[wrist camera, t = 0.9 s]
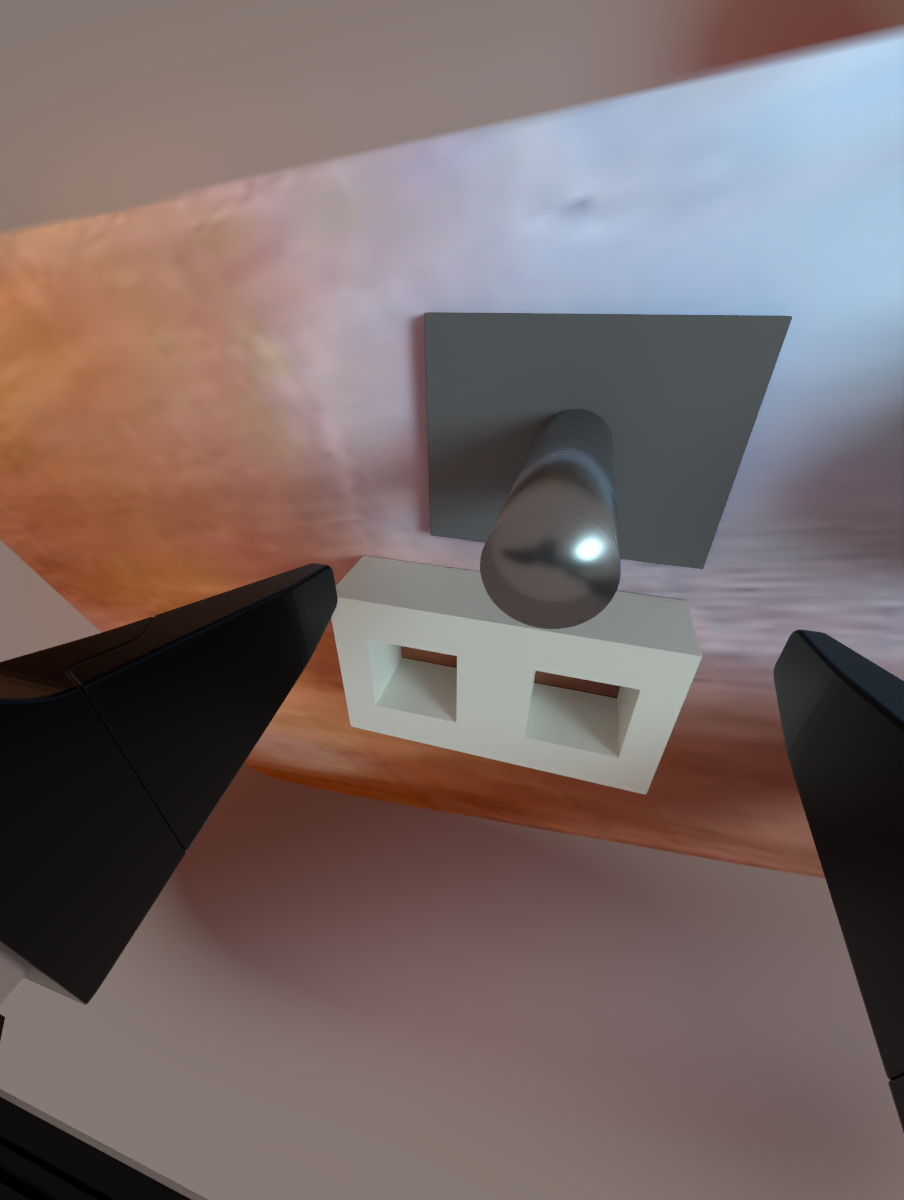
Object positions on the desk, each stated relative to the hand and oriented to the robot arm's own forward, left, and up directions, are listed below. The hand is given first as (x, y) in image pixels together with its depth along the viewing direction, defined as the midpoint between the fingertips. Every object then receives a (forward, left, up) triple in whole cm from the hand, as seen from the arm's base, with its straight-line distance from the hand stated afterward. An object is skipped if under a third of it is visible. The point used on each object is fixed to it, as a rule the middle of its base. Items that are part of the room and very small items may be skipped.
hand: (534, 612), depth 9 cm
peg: (0, 0, -11) cm, 11 cm away
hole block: (+2, +11, -12) cm, 16 cm away
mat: (0, 0, -12) cm, 12 cm away
